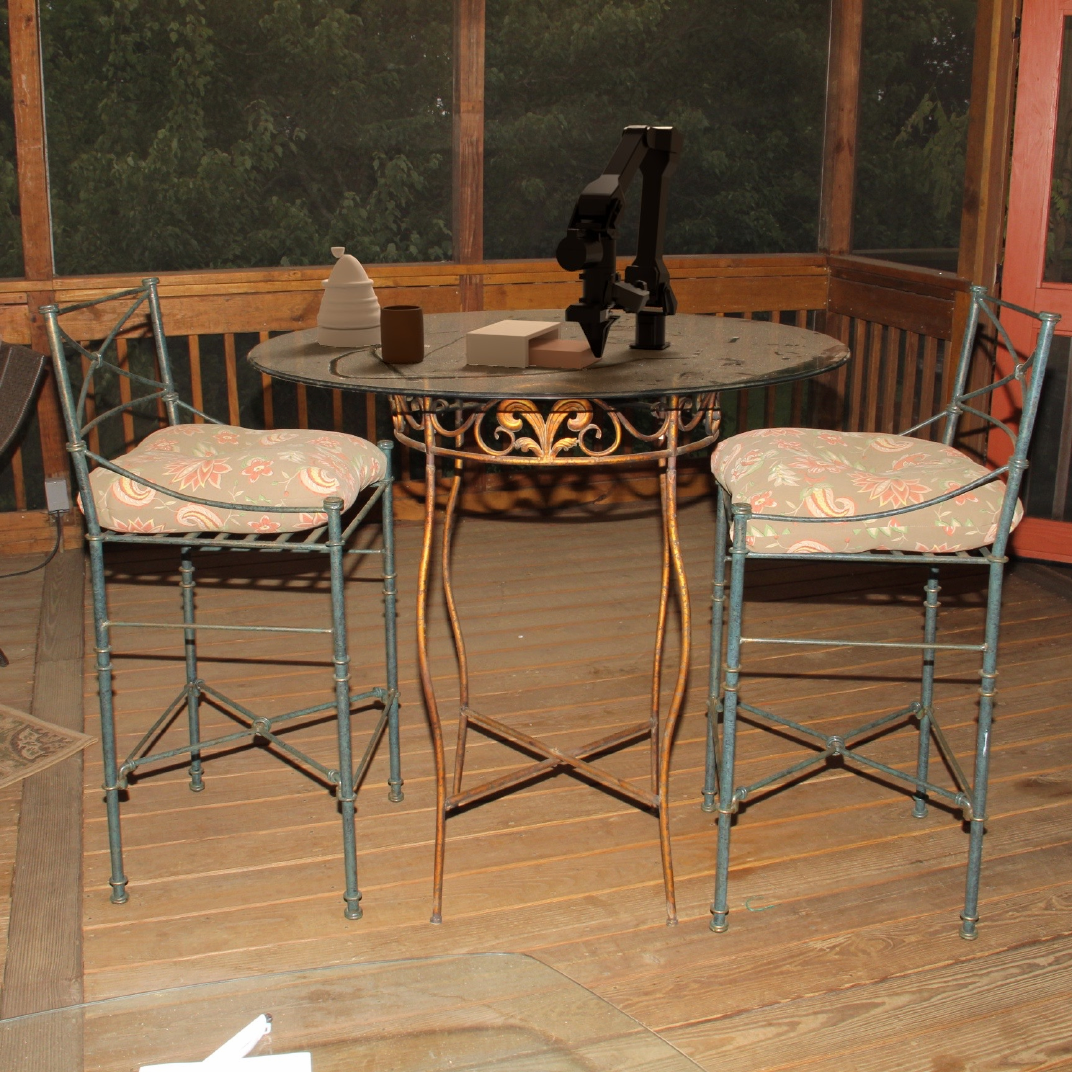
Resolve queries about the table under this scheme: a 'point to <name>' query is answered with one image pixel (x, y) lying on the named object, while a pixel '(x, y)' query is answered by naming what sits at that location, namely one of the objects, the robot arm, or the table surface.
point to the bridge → (507, 342)
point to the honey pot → (348, 306)
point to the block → (560, 353)
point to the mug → (402, 334)
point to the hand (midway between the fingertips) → (598, 357)
